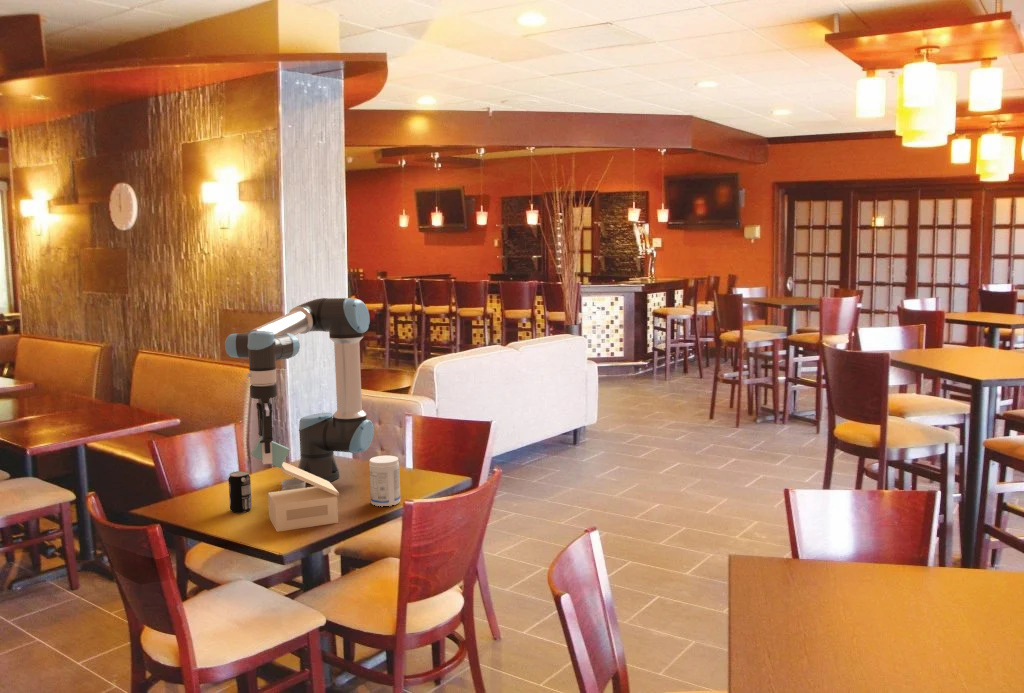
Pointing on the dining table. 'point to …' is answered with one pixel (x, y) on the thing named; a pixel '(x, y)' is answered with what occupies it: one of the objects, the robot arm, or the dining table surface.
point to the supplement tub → (384, 480)
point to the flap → (278, 460)
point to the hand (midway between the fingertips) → (266, 461)
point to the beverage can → (240, 491)
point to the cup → (292, 484)
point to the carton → (302, 508)
